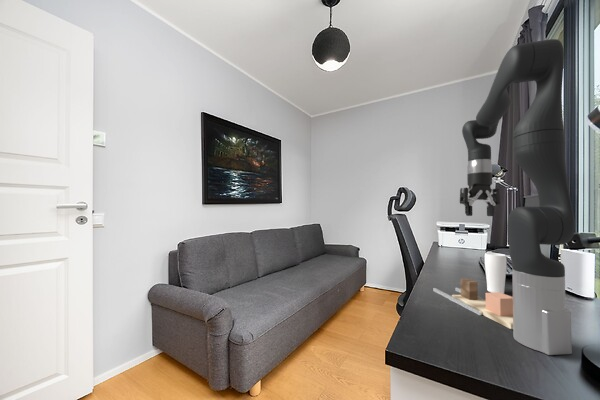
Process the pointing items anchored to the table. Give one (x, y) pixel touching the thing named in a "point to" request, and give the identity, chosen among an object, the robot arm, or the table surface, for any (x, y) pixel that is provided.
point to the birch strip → (480, 302)
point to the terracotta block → (499, 304)
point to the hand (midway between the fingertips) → (479, 216)
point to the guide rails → (458, 300)
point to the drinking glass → (495, 272)
